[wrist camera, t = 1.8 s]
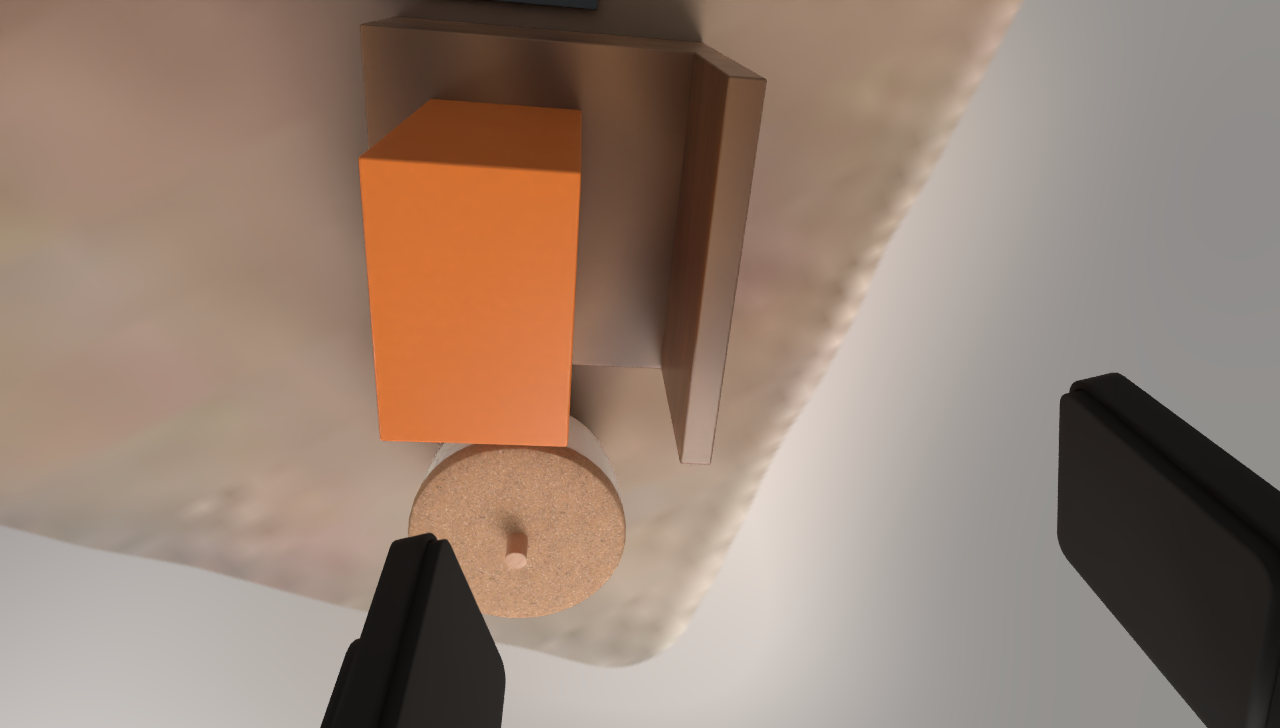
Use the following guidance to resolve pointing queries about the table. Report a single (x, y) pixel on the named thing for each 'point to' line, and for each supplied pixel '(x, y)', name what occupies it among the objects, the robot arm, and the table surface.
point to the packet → (474, 272)
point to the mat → (559, 3)
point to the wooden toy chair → (615, 180)
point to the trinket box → (526, 520)
